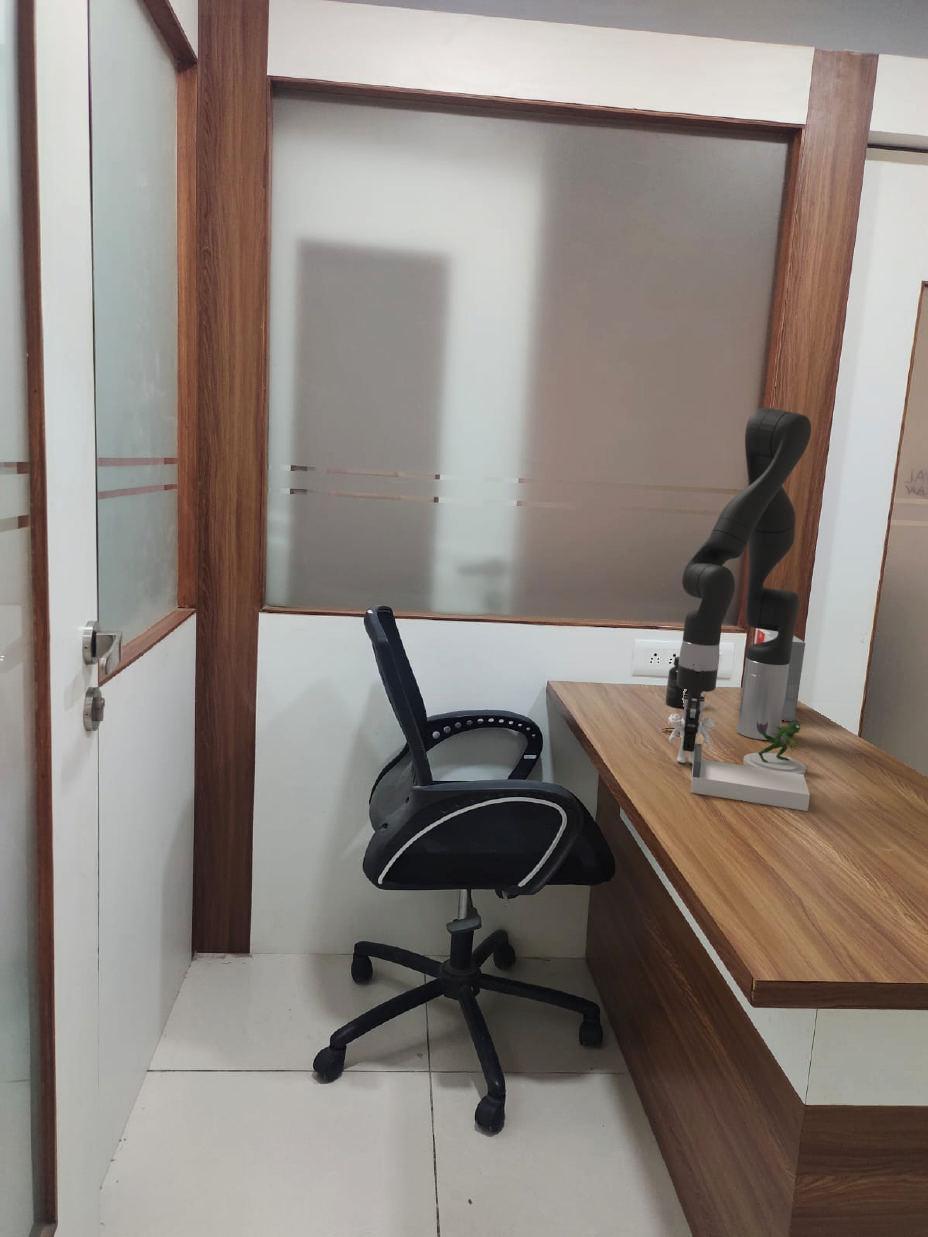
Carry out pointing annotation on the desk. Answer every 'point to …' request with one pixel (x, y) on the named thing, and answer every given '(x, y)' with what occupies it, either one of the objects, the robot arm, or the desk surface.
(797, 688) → the hard drive box
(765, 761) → the monster figurine
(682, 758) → the white toy figure
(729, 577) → the robot arm
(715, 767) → the shelf board
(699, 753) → the rail
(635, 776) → the desk surface
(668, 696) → the supplement bottle
